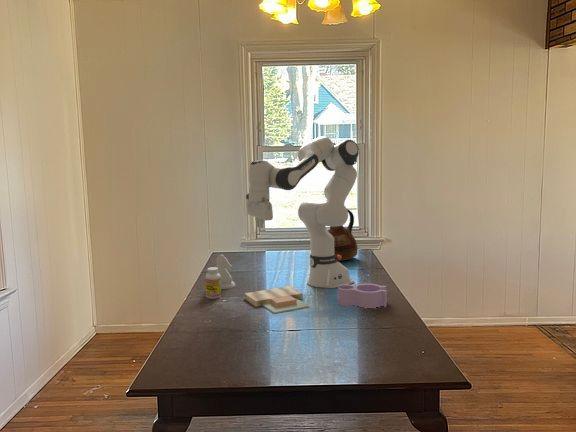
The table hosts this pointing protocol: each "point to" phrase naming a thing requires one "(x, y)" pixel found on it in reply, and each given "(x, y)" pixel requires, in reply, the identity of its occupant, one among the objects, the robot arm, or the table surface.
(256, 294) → the beige flat block
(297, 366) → the table surface
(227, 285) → the chess piece
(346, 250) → the ceramic pitcher
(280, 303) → the tile
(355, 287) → the clip
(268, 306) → the mat
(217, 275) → the supplement bottle
